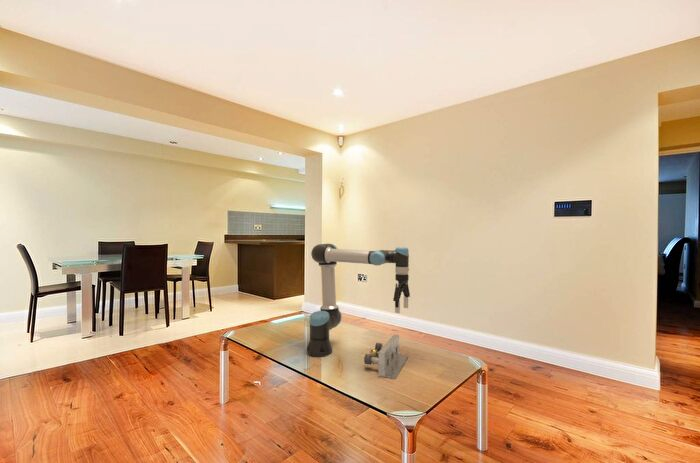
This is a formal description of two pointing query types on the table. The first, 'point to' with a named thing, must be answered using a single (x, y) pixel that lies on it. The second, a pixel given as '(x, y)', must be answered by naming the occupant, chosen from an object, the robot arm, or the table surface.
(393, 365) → the panel
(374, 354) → the silver and brass cylinder
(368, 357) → the knob near
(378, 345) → the knob far
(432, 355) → the table surface
